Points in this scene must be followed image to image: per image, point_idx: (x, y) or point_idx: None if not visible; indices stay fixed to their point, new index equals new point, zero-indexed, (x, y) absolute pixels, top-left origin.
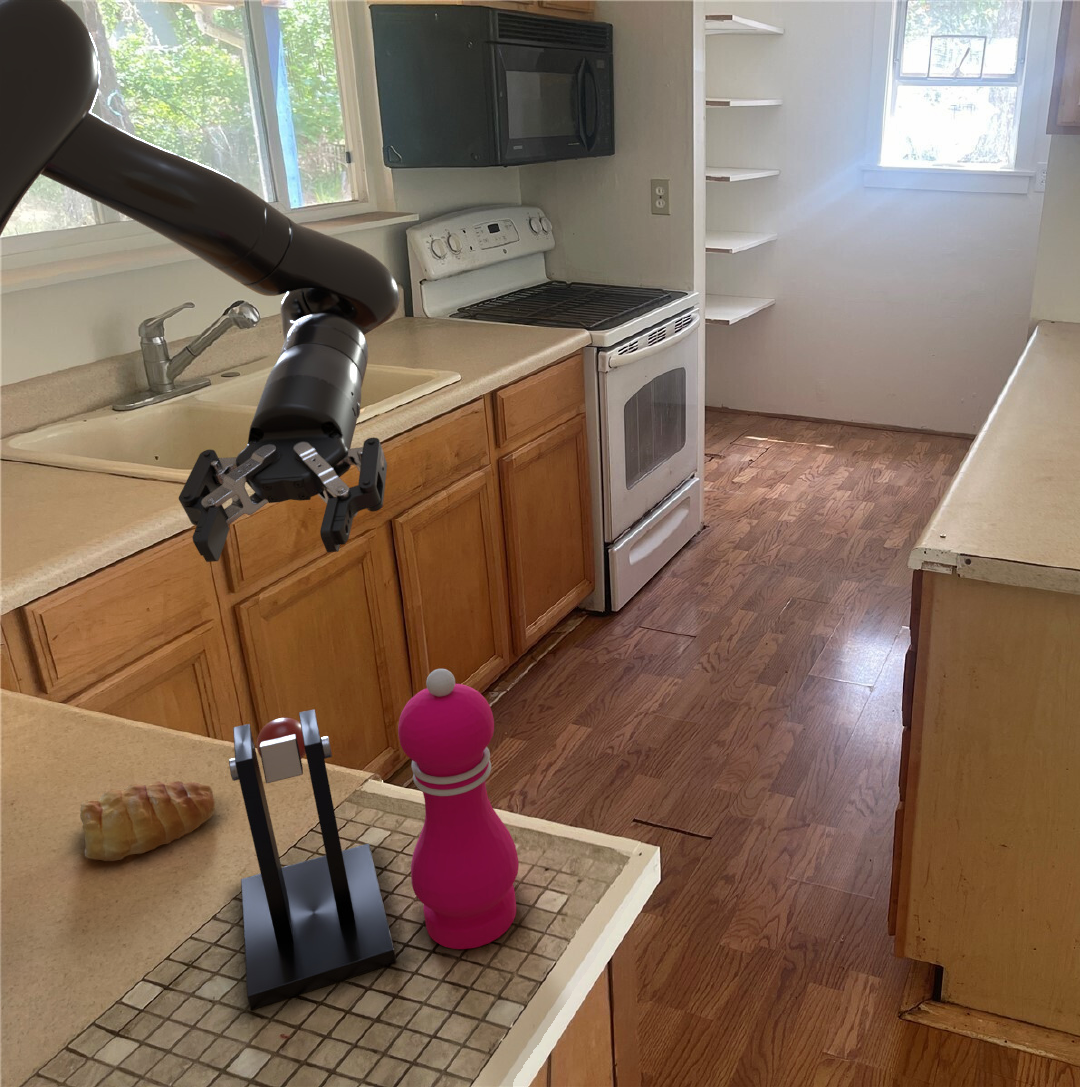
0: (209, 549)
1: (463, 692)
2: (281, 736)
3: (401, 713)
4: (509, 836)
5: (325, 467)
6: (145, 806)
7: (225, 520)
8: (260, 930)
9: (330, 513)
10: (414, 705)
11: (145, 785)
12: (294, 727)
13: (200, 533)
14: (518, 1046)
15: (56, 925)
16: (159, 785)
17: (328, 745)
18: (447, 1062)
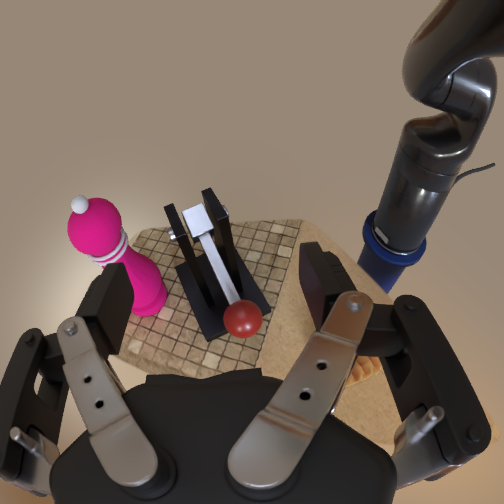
0: (299, 252)
1: (73, 214)
2: (235, 302)
3: (111, 211)
4: None
5: (76, 372)
6: None
7: (322, 323)
8: (242, 274)
9: (99, 287)
10: (100, 203)
11: (374, 365)
12: (228, 312)
13: (320, 249)
14: (130, 239)
15: (354, 284)
16: (362, 363)
17: (168, 228)
18: (152, 232)
